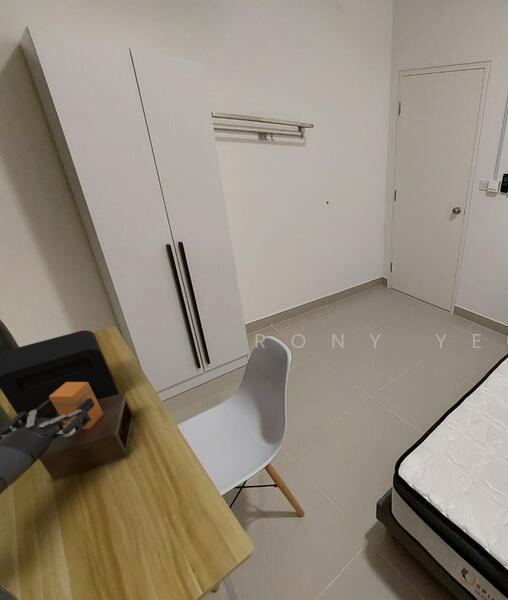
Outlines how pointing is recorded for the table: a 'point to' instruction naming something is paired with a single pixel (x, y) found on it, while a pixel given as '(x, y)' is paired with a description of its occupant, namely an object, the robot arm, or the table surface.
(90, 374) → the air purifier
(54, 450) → the open-ended wooden box
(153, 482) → the table surface
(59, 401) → the package
